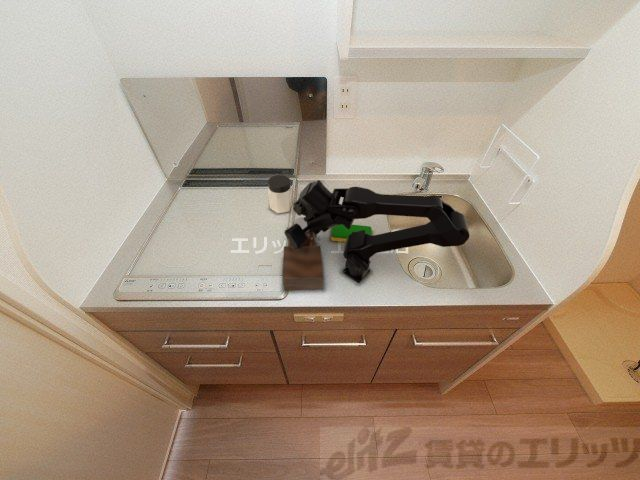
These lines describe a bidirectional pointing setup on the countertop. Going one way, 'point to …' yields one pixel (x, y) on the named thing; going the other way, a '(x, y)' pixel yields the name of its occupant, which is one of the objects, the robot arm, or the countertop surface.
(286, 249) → the cabinet
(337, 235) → the dish sponge
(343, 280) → the countertop surface
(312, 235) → the drawer
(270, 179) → the jar
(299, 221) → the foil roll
